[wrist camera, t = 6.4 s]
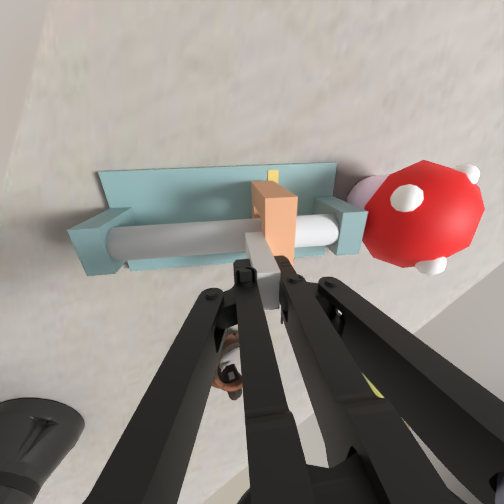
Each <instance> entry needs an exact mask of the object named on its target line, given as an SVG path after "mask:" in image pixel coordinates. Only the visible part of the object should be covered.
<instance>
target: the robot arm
mask: <svg viewBox="0 0 504 504" xmlns="http://www.w3.org/2000/svg"><path fill="white" fill-rule="evenodd" d="M245 244H246V259H237V260H235V262H234V263H233V266H234V281H235V284H234V286H233V287H232V288H231V289H230V290H227V291H225V292H223V291H222V290H221V289H219V288H209V289H206V290H204V291H202V292H201V294H200V295H199V297H198V299H197V300H196V302H195V304H194V306H193V308H192V309H191V311H190V313H189V315H188V317H187V318H186V320H185V322H184V324H183V326H182V327H181V329H180V331H179V333H178V335H177V337H176V338H175V340H174V342H173V344H172V346H171V347H170V349H169V351H168V353H167V355H166V356H165V358H164V360H163V362H162V364H161V366H160V367H159V369H158V371H157V373H156V375H155V376H154V378H153V380H152V382H151V384H150V385H149V387H148V389H147V391H146V393H145V395H144V396H143V398H142V400H141V402H140V404H139V405H138V407H137V409H136V411H135V413H134V414H133V416H132V418H131V420H130V422H129V424H128V425H127V427H126V429H125V431H124V433H123V434H122V436H121V438H120V440H119V442H118V443H117V445H116V447H115V449H114V451H113V452H112V454H111V456H110V458H109V460H108V462H107V463H106V465H105V467H104V469H103V471H102V472H101V474H100V476H99V478H98V480H97V481H96V483H95V485H94V487H93V489H92V491H91V492H90V494H89V496H88V497H87V498H86V500H85V501H84V502H83V503H82V504H177V501H178V498H179V494H180V491H181V488H182V484H183V481H184V477H185V474H186V470H187V467H188V464H189V460H190V457H191V453H192V450H193V446H194V443H195V440H196V436H197V433H198V429H199V426H200V423H201V419H202V416H203V412H204V409H205V405H206V402H207V399H208V395H209V392H210V388H211V385H212V382H213V378H214V375H215V371H216V368H217V364H218V361H219V358H220V354H221V351H222V347H223V344H224V340H225V337H226V334H227V328H229V327H231V326H234V325H236V324H238V333H239V346H240V359H241V372H242V385H243V398H244V411H245V425H246V438H247V451H248V464H249V477H250V488H249V489H248V490H247V491H246V492H245V494H244V495H243V496H242V497H241V499H240V500H239V502H238V503H237V504H466V503H465V502H464V501H462V500H461V499H460V498H459V497H458V496H456V495H455V494H454V493H453V492H451V491H450V490H449V489H448V488H447V487H446V485H445V483H444V482H443V480H442V479H441V477H440V476H439V474H438V473H437V471H436V470H435V468H434V466H433V465H432V463H431V462H430V460H429V459H428V458H427V456H426V454H425V453H424V451H423V450H422V448H421V447H420V445H419V444H418V442H417V441H416V439H415V438H414V436H413V434H412V433H411V431H410V430H409V428H408V427H407V425H406V424H405V422H406V423H407V424H408V425H409V426H410V427H411V428H412V430H413V431H414V432H415V433H416V434H417V435H418V436H419V437H420V439H421V440H422V441H423V442H424V443H425V444H426V445H427V447H428V448H429V449H430V450H431V451H432V452H433V453H434V454H435V456H436V457H437V458H438V459H439V460H440V461H441V462H442V463H443V464H444V466H445V467H446V468H447V469H448V470H449V471H450V472H451V473H452V474H453V475H454V476H455V477H456V478H457V479H458V480H459V481H460V482H461V483H462V484H463V485H464V486H465V487H466V488H467V489H468V490H469V491H470V492H471V493H472V494H473V495H475V497H476V498H477V499H478V500H479V501H481V502H482V503H483V504H504V402H503V401H501V400H500V399H498V398H497V397H496V396H495V395H493V394H492V393H491V392H489V391H488V390H487V389H485V388H484V387H482V386H481V385H480V384H479V383H477V382H476V381H475V380H473V379H472V378H471V377H469V376H468V375H466V374H465V373H464V372H462V371H461V370H460V369H458V368H457V367H456V366H454V365H453V364H452V363H450V362H449V361H448V360H446V359H445V358H444V357H442V356H441V355H440V354H438V353H437V352H436V351H434V350H433V349H431V348H430V347H429V346H428V345H426V344H424V343H423V342H422V341H421V340H419V339H418V338H417V337H415V336H414V335H413V334H411V333H410V332H409V331H407V330H406V329H405V328H403V327H402V326H401V325H399V324H398V323H397V322H395V321H394V320H393V319H391V318H390V317H388V316H387V315H386V314H384V313H383V312H382V311H380V310H379V309H378V308H376V307H375V306H374V305H372V304H371V303H370V302H368V301H367V300H366V299H364V298H363V297H362V296H360V295H359V294H358V293H356V292H355V291H353V290H352V289H351V288H349V287H348V286H347V285H345V284H344V283H343V282H341V281H340V280H338V279H336V278H333V277H323V278H320V280H319V282H318V283H311V282H306V280H305V279H304V278H303V277H302V276H301V275H298V274H296V272H295V270H294V268H293V267H292V265H291V263H290V261H289V260H288V258H287V257H285V256H283V255H280V256H273V254H272V252H271V249H270V247H269V245H268V243H267V241H266V238H265V236H264V234H263V232H248V233H245ZM279 304H280V305H281V324H283V321H284V324H285V327H286V330H287V333H288V336H289V339H290V342H291V344H292V347H293V350H294V353H295V356H296V359H297V362H298V365H299V368H300V371H301V374H302V377H303V380H304V383H305V386H306V389H307V392H308V395H309V398H310V401H311V404H312V407H313V410H314V413H315V415H316V418H317V421H318V424H319V427H320V430H321V433H322V436H323V439H324V443H325V447H326V454H327V461H328V465H329V468H324V467H319V466H313V465H308V464H306V461H305V457H304V453H303V450H302V446H301V442H300V438H299V434H298V430H297V426H296V423H295V420H294V417H293V414H292V412H291V411H289V409H288V405H287V402H286V398H285V394H284V389H283V385H282V381H281V377H280V373H279V369H278V365H277V361H276V357H275V353H274V349H273V345H272V341H271V337H270V333H269V329H268V324H267V320H266V316H265V312H264V310H272V309H279ZM338 310H339V311H340V312H341V313H342V315H341V314H340V313H338ZM362 373H363V374H364V375H365V377H366V378H367V379H368V380H369V381H370V382H371V383H372V384H373V386H374V387H375V388H376V389H377V390H378V391H379V392H380V393H381V395H382V396H383V397H384V398H381V397H378V396H377V395H376V394H375V393H374V392H373V390H372V389H371V387H370V385H369V384H368V382H367V380H366V379H365V377H364V375H363V374H362ZM401 417H402V418H403V419H404V421H405V422H404V421H403V419H402V418H401ZM84 426H85V423H84V420H83V418H82V416H81V415H80V414H79V413H78V412H77V411H75V410H74V409H72V408H70V407H68V406H66V405H64V404H61V403H58V402H54V401H50V400H44V399H31V398H28V399H16V400H11V401H7V402H4V403H1V404H0V504H33V502H34V500H35V498H36V496H37V495H38V493H39V491H40V489H41V487H42V486H43V484H44V483H45V481H46V480H47V479H48V478H49V476H50V475H51V474H52V473H53V471H54V470H55V469H56V468H57V466H58V465H59V464H60V463H61V461H62V460H63V459H64V458H65V456H66V455H67V454H68V452H69V451H70V450H71V449H72V448H73V447H74V446H75V444H76V443H77V441H78V439H79V437H80V435H81V433H82V431H83V429H84Z"/></svg>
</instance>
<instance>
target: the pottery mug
mask: <svg viewBox="0 0 504 504" xmlns="http://www.w3.org/2000/svg"><path fill="white" fill-rule="evenodd" d="M237 347H240V346H239V333H234V335H233V334H229V335H227V336H226V337H225V340H224V344H223V347H222V351H221V354H220V358H219V361H218V364H217V368H216V371H215V375H214V378H213V382H212V385H211V386H213V387H216V388H220V389H222V390H224V391H227V392H228V395H229V397H230V398H231V399H232V400H237V399H238V398H239V397H240V396H241V394H242V387H243V385H242V376H241V375H240V373H239V372H238V371H237V368H236V367H235V364H231V365H227V366H226V367H225V369H224V370H223V371H222V373H221V369H220V367H219V362H220V360H221V359H222V357H223V356H224V355H225V354H226V353H227V352H228V351H230V350H232V349H234V348H237Z"/></svg>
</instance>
